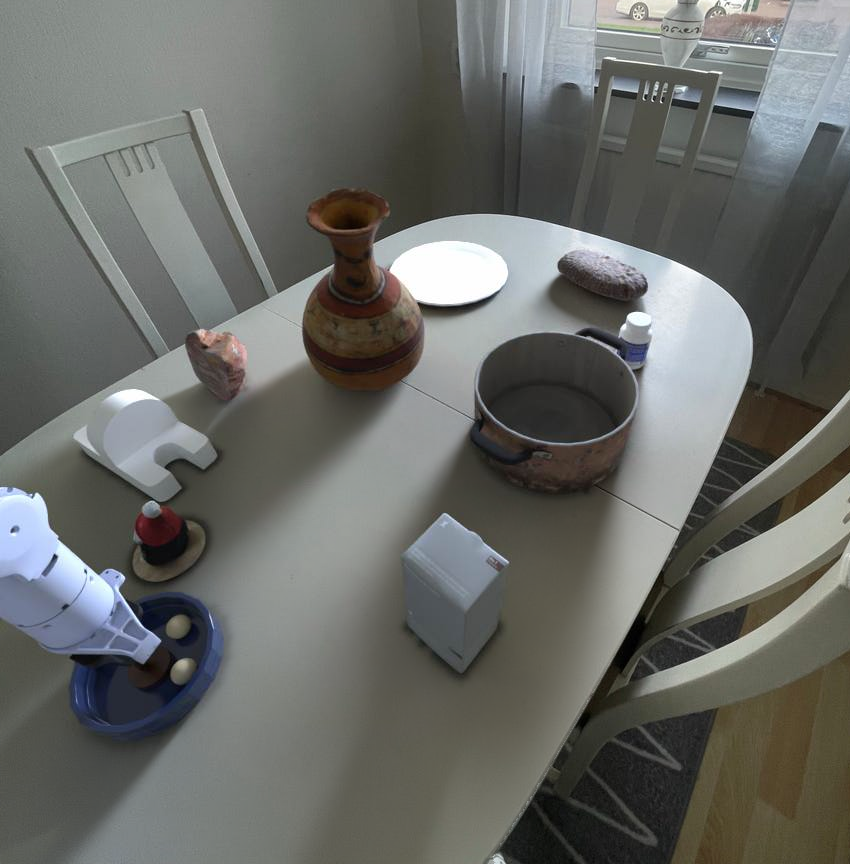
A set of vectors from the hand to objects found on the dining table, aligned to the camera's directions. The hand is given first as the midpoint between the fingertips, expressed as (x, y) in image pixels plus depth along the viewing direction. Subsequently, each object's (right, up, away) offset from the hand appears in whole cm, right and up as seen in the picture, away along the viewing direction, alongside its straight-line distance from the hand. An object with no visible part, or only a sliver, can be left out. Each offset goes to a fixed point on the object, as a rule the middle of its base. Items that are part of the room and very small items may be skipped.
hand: (128, 651), depth 50 cm
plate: (+28, +49, +59) cm, 82 cm away
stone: (-7, +27, +36) cm, 46 cm away
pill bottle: (+60, +30, +40) cm, 78 cm away
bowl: (0, -4, +4) cm, 6 cm away
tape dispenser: (-14, +16, +25) cm, 33 cm away
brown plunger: (0, -4, +4) cm, 5 cm away
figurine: (-4, +5, +14) cm, 16 cm away
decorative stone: (+59, +47, +57) cm, 95 cm away
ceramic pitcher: (+15, +30, +40) cm, 52 cm away
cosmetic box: (+32, -1, +8) cm, 33 cm away
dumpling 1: (+1, 0, +6) cm, 6 cm away
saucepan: (+45, +19, +28) cm, 56 cm away
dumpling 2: (+4, -3, +3) cm, 6 cm away
